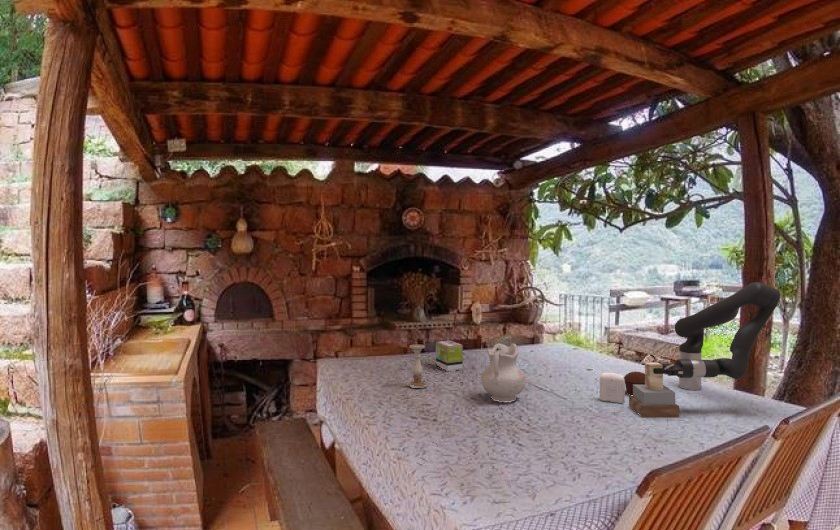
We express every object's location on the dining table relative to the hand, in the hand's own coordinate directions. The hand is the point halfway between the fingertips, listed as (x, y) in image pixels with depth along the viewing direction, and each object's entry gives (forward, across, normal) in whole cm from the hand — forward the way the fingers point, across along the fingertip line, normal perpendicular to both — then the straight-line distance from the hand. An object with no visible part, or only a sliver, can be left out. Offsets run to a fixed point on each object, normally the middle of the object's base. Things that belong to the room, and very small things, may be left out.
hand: (649, 368), depth 202 cm
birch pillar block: (-2, 0, +8) cm, 8 cm away
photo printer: (+10, -14, +18) cm, 25 cm away
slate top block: (-2, 0, +13) cm, 13 cm away
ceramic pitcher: (+57, -16, +18) cm, 62 cm away
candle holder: (+96, -37, +18) cm, 104 cm away
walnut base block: (-1, 0, +18) cm, 18 cm away
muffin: (-5, -25, +18) cm, 31 cm away
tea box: (+80, -76, +18) cm, 112 cm away
